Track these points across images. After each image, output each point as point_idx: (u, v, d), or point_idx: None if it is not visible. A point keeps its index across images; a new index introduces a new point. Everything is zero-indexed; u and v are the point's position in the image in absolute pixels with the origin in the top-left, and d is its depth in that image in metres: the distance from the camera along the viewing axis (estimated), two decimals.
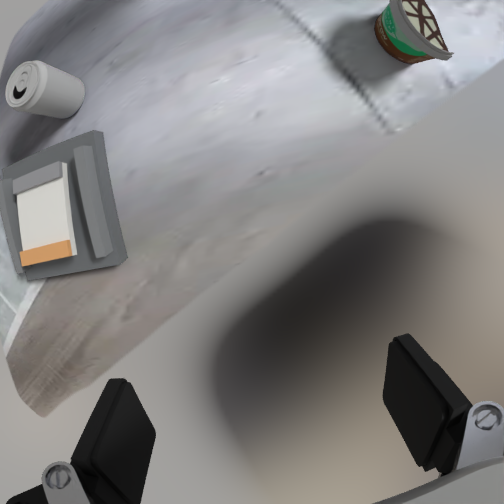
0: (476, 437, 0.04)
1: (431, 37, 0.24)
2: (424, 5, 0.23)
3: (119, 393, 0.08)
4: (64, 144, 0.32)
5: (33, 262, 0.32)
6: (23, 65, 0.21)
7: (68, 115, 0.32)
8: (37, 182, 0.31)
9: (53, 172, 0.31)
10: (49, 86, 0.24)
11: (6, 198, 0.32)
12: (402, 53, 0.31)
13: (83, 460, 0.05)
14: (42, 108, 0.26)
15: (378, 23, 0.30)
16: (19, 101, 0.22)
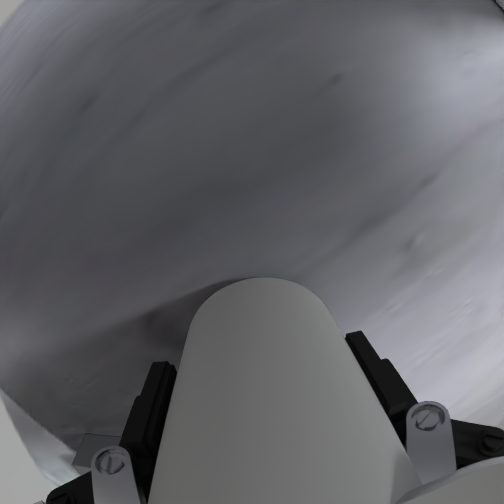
0: (420, 439, 0.05)
1: None
2: None
3: (165, 375, 0.09)
4: None
5: None
6: None
7: None
8: None
9: None
10: None
11: None
12: None
13: (139, 441, 0.06)
14: None
15: None
16: None
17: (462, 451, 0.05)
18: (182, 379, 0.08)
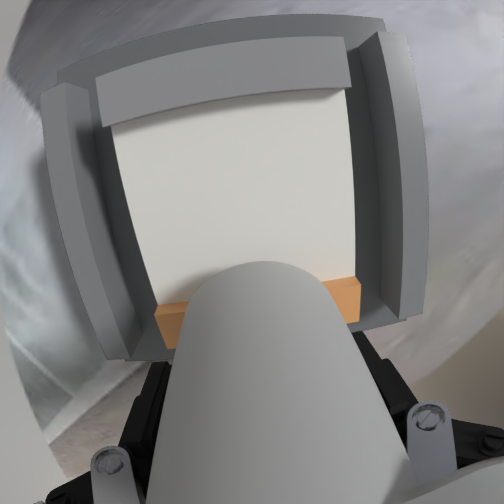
0: (421, 439, 0.05)
1: None
2: None
3: (165, 375, 0.09)
4: (300, 21, 0.12)
5: None
6: None
7: None
8: (237, 87, 0.09)
9: (323, 67, 0.09)
10: None
11: (74, 140, 0.11)
12: None
13: (138, 441, 0.06)
14: None
15: None
16: None
17: (463, 451, 0.05)
18: (176, 379, 0.07)
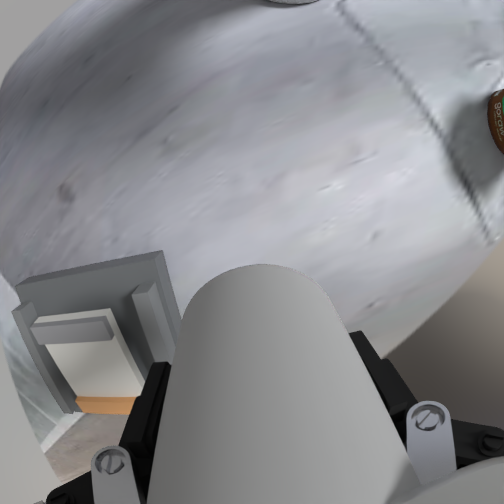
0: (420, 439, 0.05)
1: None
2: None
3: (165, 375, 0.09)
4: (108, 272, 0.25)
5: (99, 412, 0.26)
6: None
7: None
8: (74, 340, 0.23)
9: (99, 333, 0.22)
10: None
11: (32, 333, 0.25)
12: None
13: (139, 441, 0.06)
14: None
15: (496, 111, 0.24)
16: None
17: (462, 451, 0.05)
18: (175, 382, 0.07)
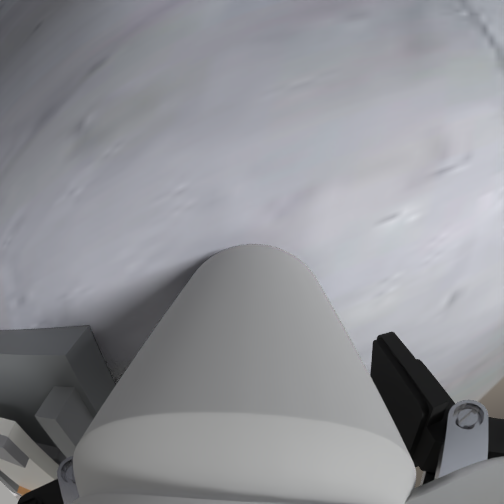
0: (458, 437, 0.05)
1: None
2: None
3: None
4: (10, 361, 0.12)
5: None
6: None
7: None
8: None
9: (6, 457, 0.09)
10: None
11: None
12: None
13: None
14: None
15: None
16: None
17: (500, 447, 0.04)
18: None
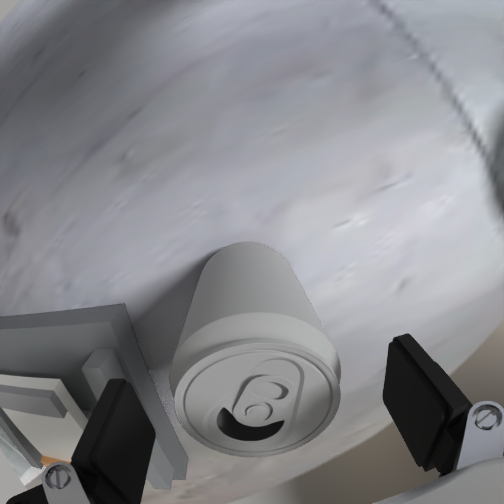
0: (476, 437, 0.04)
1: None
2: None
3: (119, 393, 0.08)
4: (58, 331, 0.18)
5: None
6: (252, 351, 0.09)
7: None
8: (24, 410, 0.15)
9: (48, 410, 0.15)
10: None
11: None
12: None
13: (83, 460, 0.05)
14: None
15: None
16: (256, 445, 0.10)
17: None
18: (199, 287, 0.15)
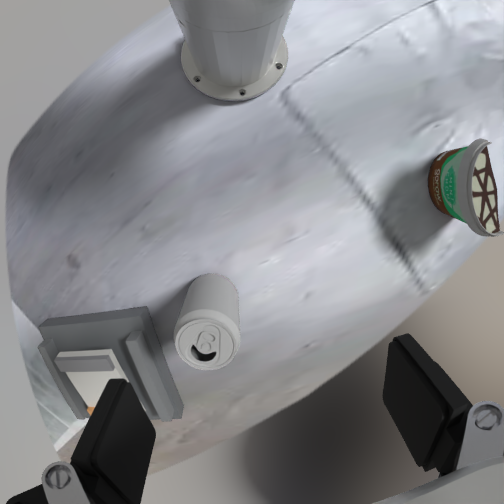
0: (476, 437, 0.04)
1: (488, 218, 0.27)
2: (490, 175, 0.26)
3: (119, 393, 0.08)
4: (109, 323, 0.35)
5: None
6: (201, 322, 0.26)
7: None
8: (87, 369, 0.32)
9: (104, 366, 0.32)
10: None
11: (54, 362, 0.34)
12: (452, 215, 0.34)
13: (83, 460, 0.05)
14: None
15: (434, 178, 0.33)
16: (206, 364, 0.27)
17: None
18: (186, 298, 0.32)
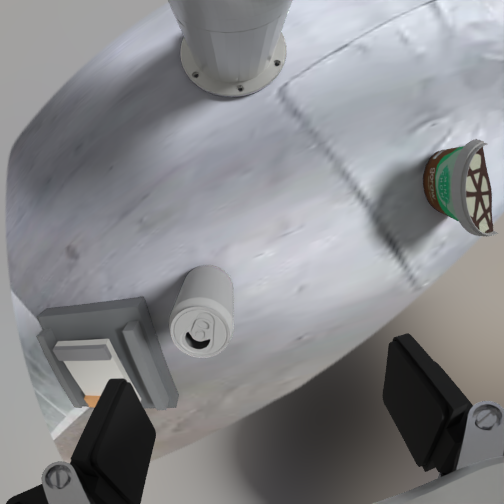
0: (476, 437, 0.04)
1: (481, 218, 0.28)
2: (485, 175, 0.27)
3: (119, 393, 0.08)
4: (106, 313, 0.36)
5: None
6: (196, 309, 0.27)
7: None
8: (84, 359, 0.33)
9: (101, 355, 0.33)
10: None
11: (52, 351, 0.35)
12: (446, 213, 0.35)
13: (83, 460, 0.05)
14: None
15: (429, 176, 0.34)
16: (200, 352, 0.28)
17: None
18: (182, 287, 0.33)
